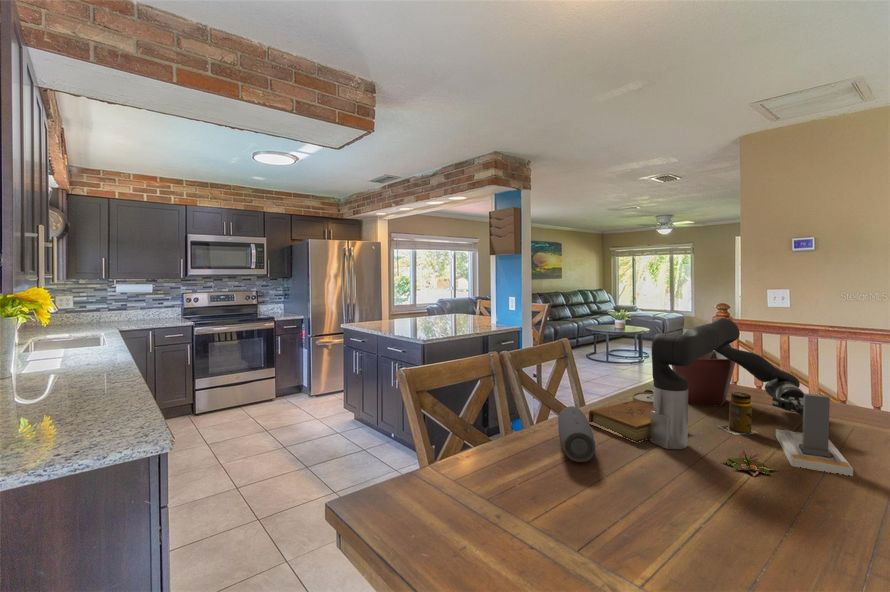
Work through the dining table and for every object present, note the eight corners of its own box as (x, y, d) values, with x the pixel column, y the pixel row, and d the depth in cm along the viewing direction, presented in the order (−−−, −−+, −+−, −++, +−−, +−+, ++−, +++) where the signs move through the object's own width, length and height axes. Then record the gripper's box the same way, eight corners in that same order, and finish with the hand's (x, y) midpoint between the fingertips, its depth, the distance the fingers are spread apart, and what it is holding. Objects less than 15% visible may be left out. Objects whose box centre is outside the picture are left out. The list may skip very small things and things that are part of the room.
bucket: (736, 397, 173) (738, 336, 172) (740, 412, 155) (741, 345, 153) (669, 389, 186) (670, 333, 185) (664, 402, 168) (665, 340, 166)
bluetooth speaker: (597, 468, 112) (598, 431, 112) (561, 465, 114) (561, 429, 114) (586, 436, 135) (587, 405, 134) (556, 434, 136) (556, 403, 136)
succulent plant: (741, 456, 119) (741, 440, 119) (788, 474, 108) (788, 457, 108) (710, 463, 115) (711, 446, 115) (756, 483, 104) (756, 465, 104)
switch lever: (798, 447, 118) (800, 392, 117) (827, 451, 115) (829, 394, 114) (802, 452, 115) (803, 395, 114) (831, 457, 112) (833, 398, 111)
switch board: (775, 435, 133) (775, 426, 132) (826, 442, 127) (826, 432, 126) (791, 466, 112) (792, 455, 112) (852, 476, 106) (853, 464, 106)
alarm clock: (625, 397, 167) (647, 384, 175) (627, 408, 167) (648, 395, 175) (652, 404, 157) (674, 390, 165) (654, 416, 158) (675, 402, 166)
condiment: (758, 433, 135) (759, 396, 134) (734, 435, 133) (735, 398, 133) (739, 425, 142) (740, 390, 141) (716, 427, 141) (717, 391, 140)
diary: (633, 414, 156) (633, 399, 156) (682, 431, 139) (682, 413, 139) (588, 425, 145) (588, 409, 145) (636, 444, 128) (636, 425, 128)
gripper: (766, 384, 145) (775, 397, 130) (817, 388, 138) (832, 403, 123) (766, 405, 145) (775, 421, 130) (816, 411, 138) (832, 428, 123)
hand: (803, 412), depth 127 cm, fingers closed
